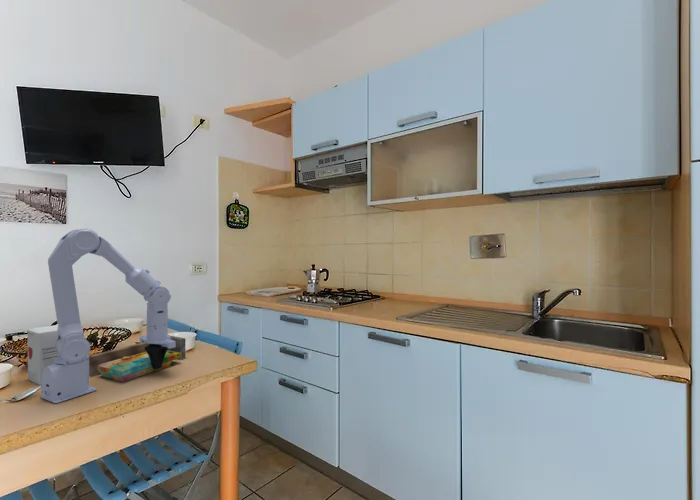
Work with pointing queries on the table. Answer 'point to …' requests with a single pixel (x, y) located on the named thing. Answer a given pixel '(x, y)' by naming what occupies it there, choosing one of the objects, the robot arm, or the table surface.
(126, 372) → the puzzle game
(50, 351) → the supplement box
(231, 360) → the table surface
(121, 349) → the shelf corner
